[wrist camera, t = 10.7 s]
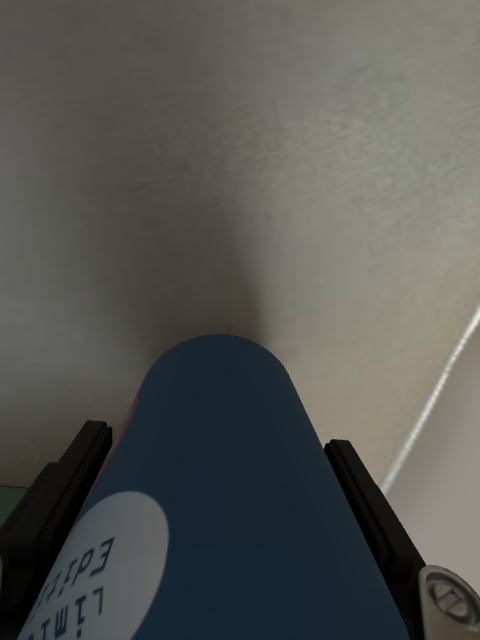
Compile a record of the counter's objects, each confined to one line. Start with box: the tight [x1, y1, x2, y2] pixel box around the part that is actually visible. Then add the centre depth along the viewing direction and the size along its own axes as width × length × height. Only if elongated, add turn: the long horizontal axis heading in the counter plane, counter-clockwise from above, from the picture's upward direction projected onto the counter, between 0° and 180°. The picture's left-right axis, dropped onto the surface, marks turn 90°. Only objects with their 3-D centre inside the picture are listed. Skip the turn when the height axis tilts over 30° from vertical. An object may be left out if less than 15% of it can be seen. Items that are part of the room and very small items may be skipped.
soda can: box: [17, 335, 410, 640], centre depth 9 cm, size 7×7×12 cm
